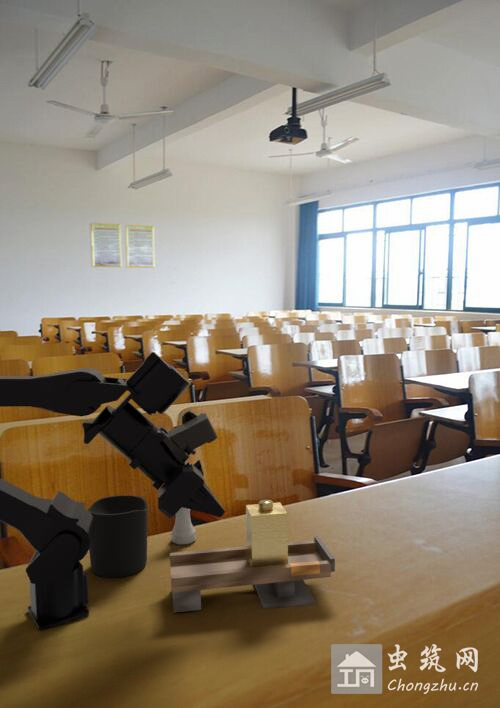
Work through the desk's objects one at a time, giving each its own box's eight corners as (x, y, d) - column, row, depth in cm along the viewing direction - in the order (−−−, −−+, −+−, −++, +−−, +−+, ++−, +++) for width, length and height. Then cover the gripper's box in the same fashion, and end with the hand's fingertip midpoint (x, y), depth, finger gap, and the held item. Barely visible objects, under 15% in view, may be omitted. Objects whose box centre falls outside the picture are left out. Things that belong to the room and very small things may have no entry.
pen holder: (161, 564, 91) (159, 502, 90) (111, 586, 84) (108, 519, 83) (126, 549, 97) (123, 491, 96) (76, 568, 90) (73, 506, 89)
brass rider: (252, 573, 78) (250, 508, 77) (247, 559, 82) (245, 498, 82) (288, 569, 78) (287, 505, 78) (281, 556, 83) (279, 495, 82)
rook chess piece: (192, 546, 97) (190, 500, 97) (167, 544, 98) (165, 499, 98) (199, 536, 102) (198, 492, 101) (175, 535, 103) (174, 491, 102)
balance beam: (172, 618, 74) (171, 575, 74) (170, 586, 83) (169, 547, 82) (336, 601, 77) (335, 559, 77) (317, 572, 86) (317, 534, 86)
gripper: (183, 406, 68) (276, 490, 70) (177, 387, 86) (251, 455, 89) (117, 475, 67) (213, 558, 69) (126, 441, 85) (202, 508, 88)
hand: (222, 513), depth 79 cm, fingers closed
